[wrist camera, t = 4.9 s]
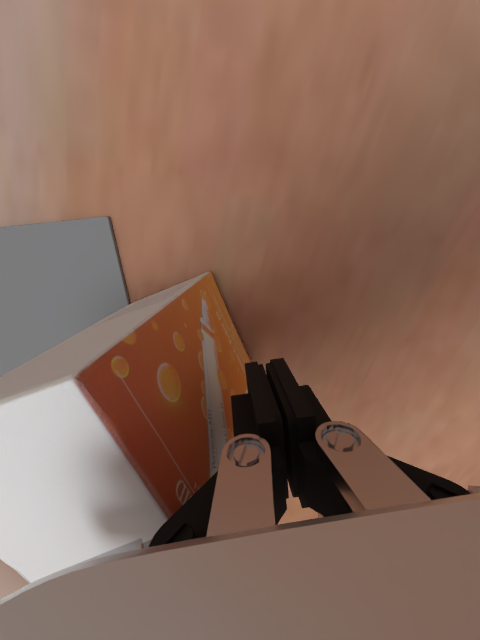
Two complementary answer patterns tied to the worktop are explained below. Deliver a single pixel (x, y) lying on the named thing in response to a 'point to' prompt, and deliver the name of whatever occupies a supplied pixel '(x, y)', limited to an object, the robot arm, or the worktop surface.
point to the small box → (116, 427)
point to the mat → (55, 284)
